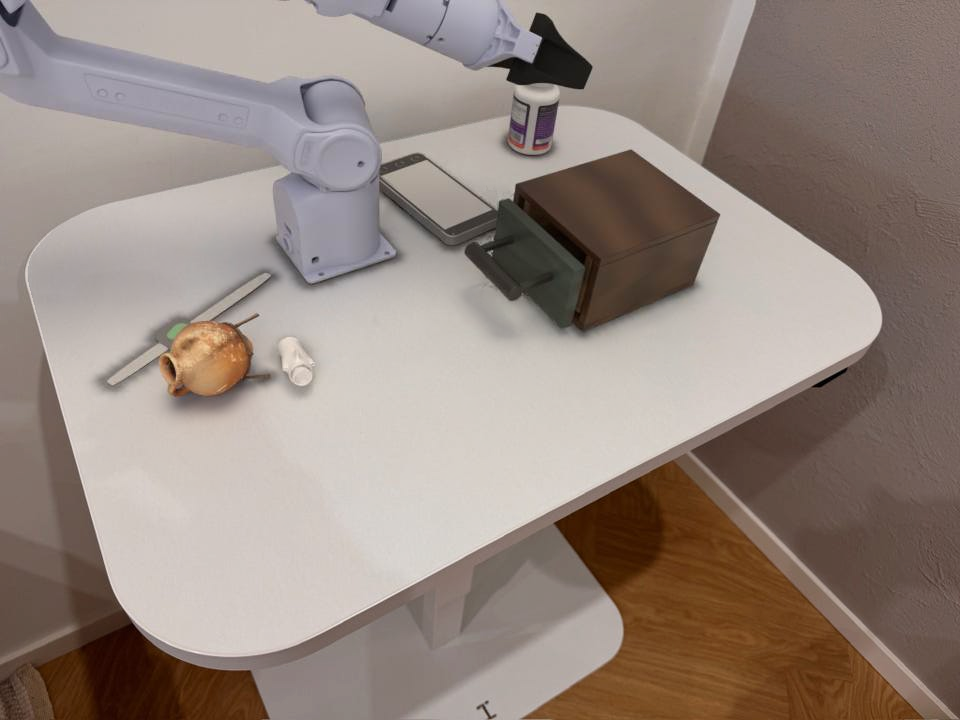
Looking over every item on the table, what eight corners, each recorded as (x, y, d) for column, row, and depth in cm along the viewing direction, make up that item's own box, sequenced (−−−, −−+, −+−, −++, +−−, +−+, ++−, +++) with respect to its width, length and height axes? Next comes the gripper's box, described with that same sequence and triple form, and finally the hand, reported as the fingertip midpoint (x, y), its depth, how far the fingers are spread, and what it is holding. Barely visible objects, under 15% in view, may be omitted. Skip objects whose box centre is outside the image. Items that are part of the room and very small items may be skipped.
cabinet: (582, 332, 69) (601, 259, 63) (504, 256, 76) (515, 183, 69) (693, 284, 75) (721, 214, 69) (612, 218, 82) (631, 148, 76)
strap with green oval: (255, 264, 70) (279, 277, 69) (256, 267, 71) (279, 280, 70) (95, 371, 60) (120, 388, 59) (96, 374, 60) (121, 392, 59)
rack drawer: (516, 348, 65) (527, 289, 60) (448, 273, 71) (452, 214, 67) (668, 284, 73) (688, 228, 69) (595, 222, 80) (608, 166, 75)
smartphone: (419, 150, 86) (505, 215, 78) (419, 159, 87) (504, 223, 79) (366, 169, 82) (450, 238, 75) (366, 177, 83) (450, 247, 76)
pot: (246, 377, 64) (285, 378, 60) (156, 405, 59) (192, 409, 54) (229, 311, 63) (268, 307, 59) (136, 333, 58) (171, 331, 53)
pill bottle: (551, 136, 93) (565, 60, 86) (550, 159, 89) (564, 81, 82) (508, 130, 93) (518, 54, 86) (505, 153, 89) (515, 74, 82)
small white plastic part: (324, 346, 65) (322, 319, 62) (312, 397, 60) (309, 371, 58) (282, 342, 64) (279, 316, 62) (267, 394, 60) (263, 367, 58)
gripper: (489, -40, 53) (628, 34, 60) (419, -46, 64) (543, 17, 72) (453, 60, 55) (592, 120, 62) (392, 37, 67) (515, 90, 74)
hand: (564, 70), depth 67 cm, fingers open, 7 cm apart
